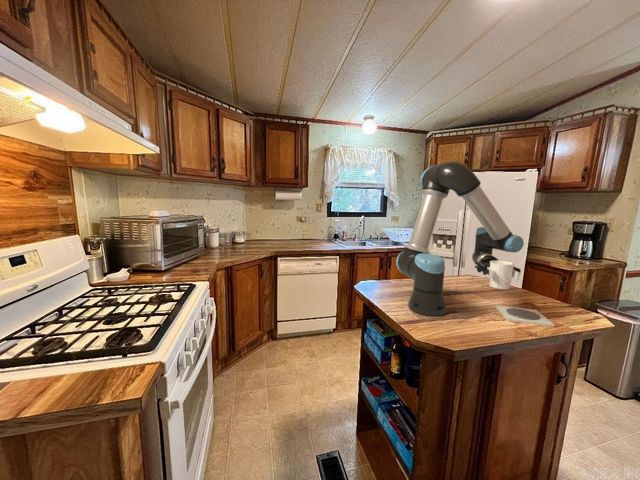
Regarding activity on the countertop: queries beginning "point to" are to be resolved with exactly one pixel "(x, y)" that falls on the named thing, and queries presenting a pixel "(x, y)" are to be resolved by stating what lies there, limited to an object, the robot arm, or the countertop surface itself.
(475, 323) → the countertop surface
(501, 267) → the white cup
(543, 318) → the trivet
